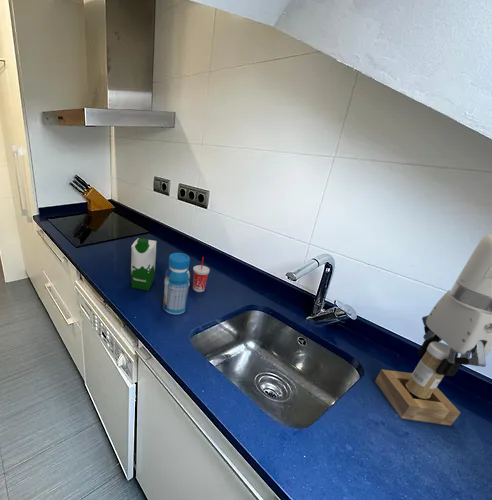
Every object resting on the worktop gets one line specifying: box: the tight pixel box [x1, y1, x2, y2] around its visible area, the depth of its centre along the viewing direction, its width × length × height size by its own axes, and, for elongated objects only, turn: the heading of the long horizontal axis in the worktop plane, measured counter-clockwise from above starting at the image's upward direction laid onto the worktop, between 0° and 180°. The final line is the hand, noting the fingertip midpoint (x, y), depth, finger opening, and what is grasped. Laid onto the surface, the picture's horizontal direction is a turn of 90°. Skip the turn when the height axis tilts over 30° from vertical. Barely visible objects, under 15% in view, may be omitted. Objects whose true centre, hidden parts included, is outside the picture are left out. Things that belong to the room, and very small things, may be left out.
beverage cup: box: [192, 256, 211, 293], centre depth 108 cm, size 6×6×14 cm
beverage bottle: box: [162, 252, 191, 315], centre depth 95 cm, size 8×8×20 cm
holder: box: [374, 368, 461, 426], centre depth 68 cm, size 10×10×4 cm
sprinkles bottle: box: [406, 341, 460, 399], centre depth 64 cm, size 5×5×14 cm
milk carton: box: [130, 237, 157, 292], centre depth 109 cm, size 9×9×20 cm
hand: (434, 363), depth 64 cm, fingers closed on sprinkles bottle, 4 cm apart
